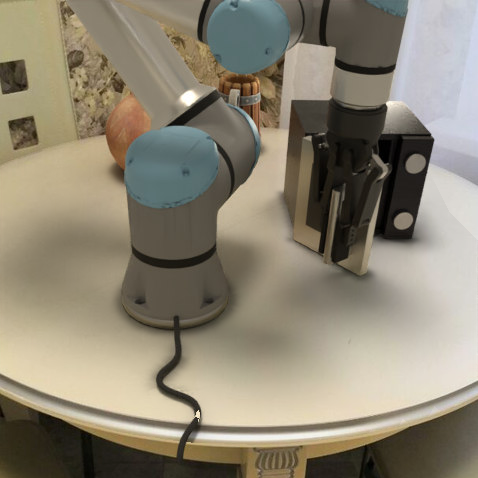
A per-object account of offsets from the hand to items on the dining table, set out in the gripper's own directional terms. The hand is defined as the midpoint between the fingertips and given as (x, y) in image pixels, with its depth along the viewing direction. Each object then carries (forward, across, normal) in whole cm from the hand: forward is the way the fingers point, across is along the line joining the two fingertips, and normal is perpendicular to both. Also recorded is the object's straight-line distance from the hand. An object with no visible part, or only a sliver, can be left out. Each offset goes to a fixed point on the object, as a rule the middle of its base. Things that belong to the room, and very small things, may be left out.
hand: (332, 254), depth 93 cm
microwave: (+5, +13, -16) cm, 21 cm away
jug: (+6, +49, +3) cm, 49 cm away
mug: (+6, +48, -16) cm, 51 cm away
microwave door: (+4, +4, -2) cm, 6 cm away
